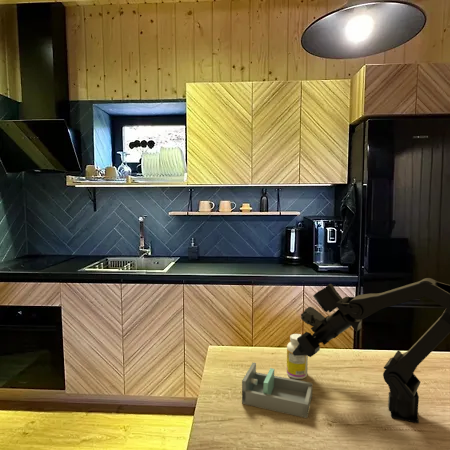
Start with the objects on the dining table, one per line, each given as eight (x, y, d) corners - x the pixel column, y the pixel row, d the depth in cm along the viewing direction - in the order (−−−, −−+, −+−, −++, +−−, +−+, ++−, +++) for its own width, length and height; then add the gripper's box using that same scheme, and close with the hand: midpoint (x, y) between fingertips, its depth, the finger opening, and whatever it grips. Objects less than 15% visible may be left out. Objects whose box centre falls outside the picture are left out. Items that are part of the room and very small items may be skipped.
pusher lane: (312, 395, 103) (312, 373, 102) (307, 418, 93) (307, 393, 92) (252, 383, 109) (252, 362, 108) (241, 403, 99) (242, 380, 98)
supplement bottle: (292, 367, 119) (293, 330, 118) (310, 373, 115) (311, 336, 114) (282, 375, 114) (283, 337, 113) (301, 382, 110) (302, 343, 108)
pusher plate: (274, 386, 105) (274, 368, 105) (267, 402, 98) (267, 383, 97) (270, 385, 106) (270, 368, 105) (263, 401, 98) (263, 382, 97)
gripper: (329, 294, 115) (298, 318, 123) (304, 309, 100) (270, 336, 108) (353, 323, 111) (318, 347, 119) (330, 344, 96) (292, 369, 104)
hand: (300, 348), depth 113 cm, fingers open, 9 cm apart
